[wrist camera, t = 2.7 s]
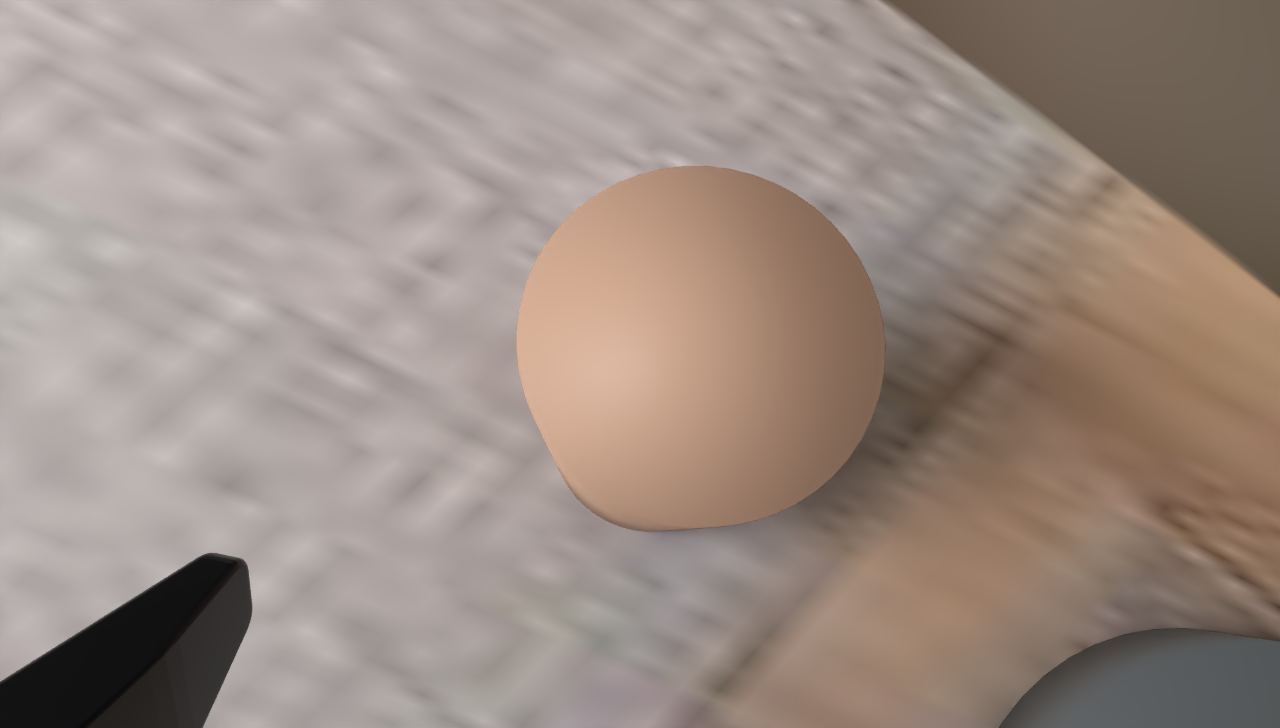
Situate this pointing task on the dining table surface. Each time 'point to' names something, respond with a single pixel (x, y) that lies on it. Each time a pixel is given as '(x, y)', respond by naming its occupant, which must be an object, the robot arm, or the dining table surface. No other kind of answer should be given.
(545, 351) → the tan piece
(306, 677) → the dining table surface
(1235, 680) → the pedestal
